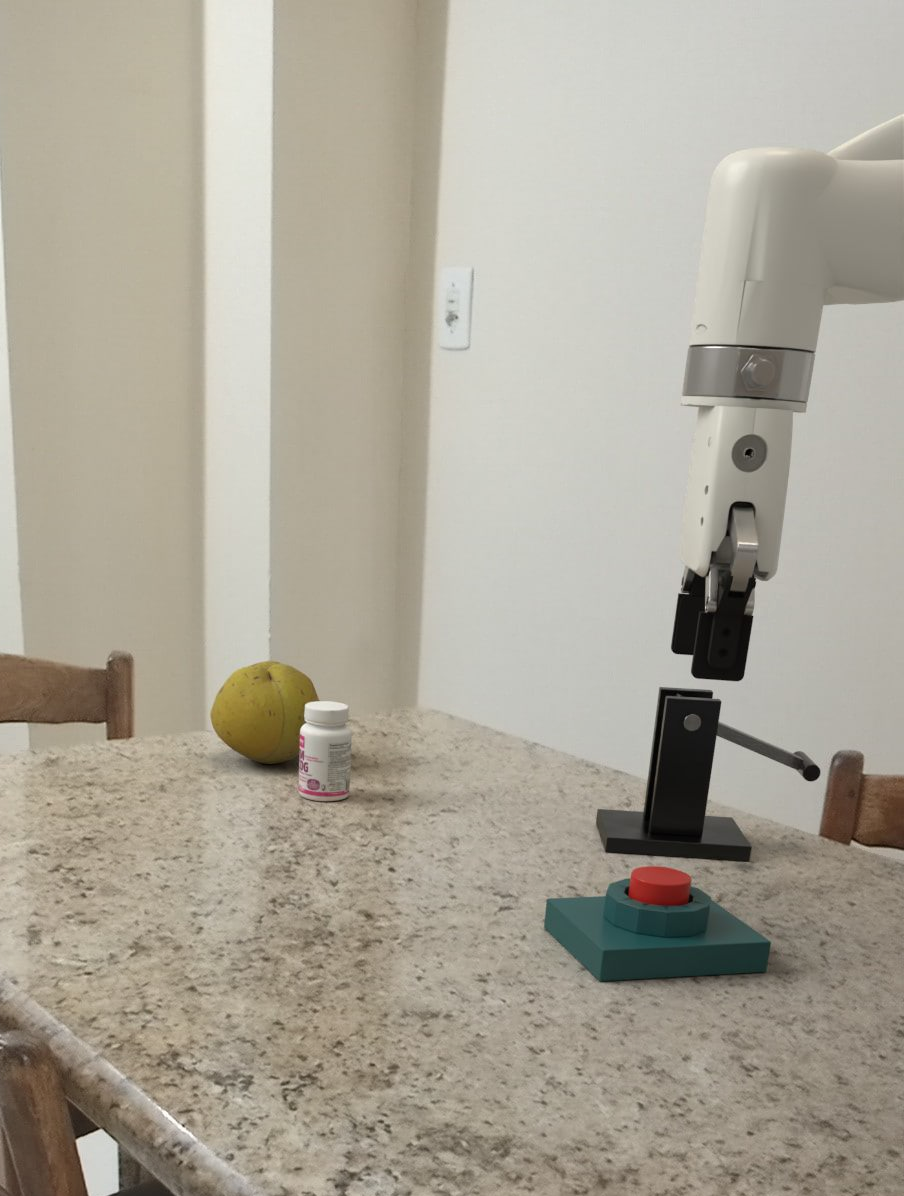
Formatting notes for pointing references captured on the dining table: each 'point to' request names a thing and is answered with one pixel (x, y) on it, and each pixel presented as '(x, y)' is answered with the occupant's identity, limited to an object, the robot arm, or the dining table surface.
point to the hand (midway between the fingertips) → (704, 666)
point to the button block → (654, 936)
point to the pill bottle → (325, 752)
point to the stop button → (660, 886)
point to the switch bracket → (678, 788)
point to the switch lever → (770, 751)
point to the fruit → (263, 711)
